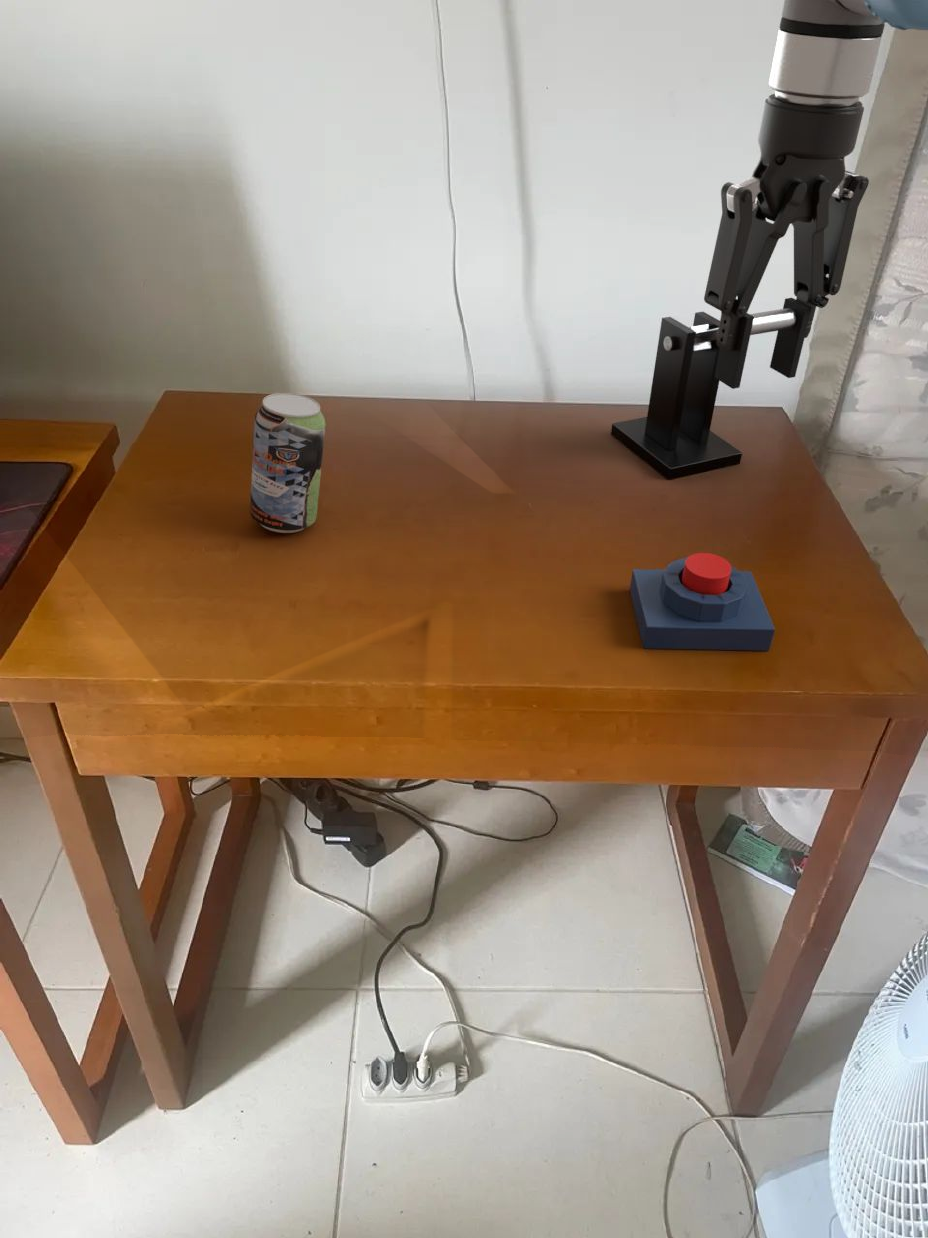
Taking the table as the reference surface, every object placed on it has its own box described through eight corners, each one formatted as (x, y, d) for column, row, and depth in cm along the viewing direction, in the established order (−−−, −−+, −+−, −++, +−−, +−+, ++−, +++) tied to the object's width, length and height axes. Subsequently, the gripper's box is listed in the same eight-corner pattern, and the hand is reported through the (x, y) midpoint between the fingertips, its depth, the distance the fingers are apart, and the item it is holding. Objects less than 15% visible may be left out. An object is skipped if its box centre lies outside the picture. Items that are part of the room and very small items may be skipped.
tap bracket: (740, 463, 102) (768, 335, 94) (668, 480, 99) (691, 348, 91) (678, 420, 110) (700, 298, 102) (610, 434, 107) (626, 309, 99)
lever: (797, 330, 88) (794, 302, 87) (752, 338, 86) (749, 309, 85) (706, 350, 100) (703, 326, 99) (665, 357, 98) (661, 332, 98)
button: (722, 571, 80) (726, 553, 79) (731, 597, 77) (736, 578, 76) (677, 570, 80) (681, 552, 79) (686, 596, 77) (689, 577, 76)
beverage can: (240, 519, 91) (224, 398, 84) (309, 496, 95) (300, 379, 87) (272, 550, 87) (259, 425, 80) (343, 524, 91) (337, 404, 83)
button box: (746, 592, 84) (755, 553, 81) (769, 651, 77) (780, 610, 75) (629, 589, 84) (635, 550, 81) (643, 649, 77) (650, 608, 75)
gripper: (872, 82, 82) (806, 348, 96) (688, 93, 76) (647, 376, 90) (941, 98, 77) (861, 377, 91) (750, 111, 70) (695, 410, 84)
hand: (755, 376), depth 90 cm, fingers open, 6 cm apart
